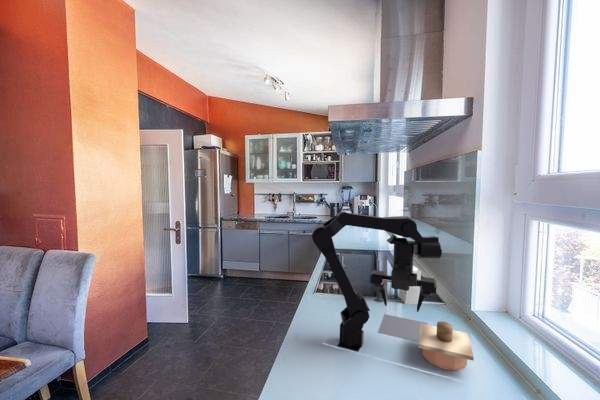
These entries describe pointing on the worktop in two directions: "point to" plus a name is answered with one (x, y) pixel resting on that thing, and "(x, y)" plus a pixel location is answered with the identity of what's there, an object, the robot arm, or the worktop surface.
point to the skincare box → (411, 291)
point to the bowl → (444, 360)
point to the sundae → (377, 294)
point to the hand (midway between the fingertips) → (401, 308)
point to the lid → (445, 340)
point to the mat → (401, 327)
